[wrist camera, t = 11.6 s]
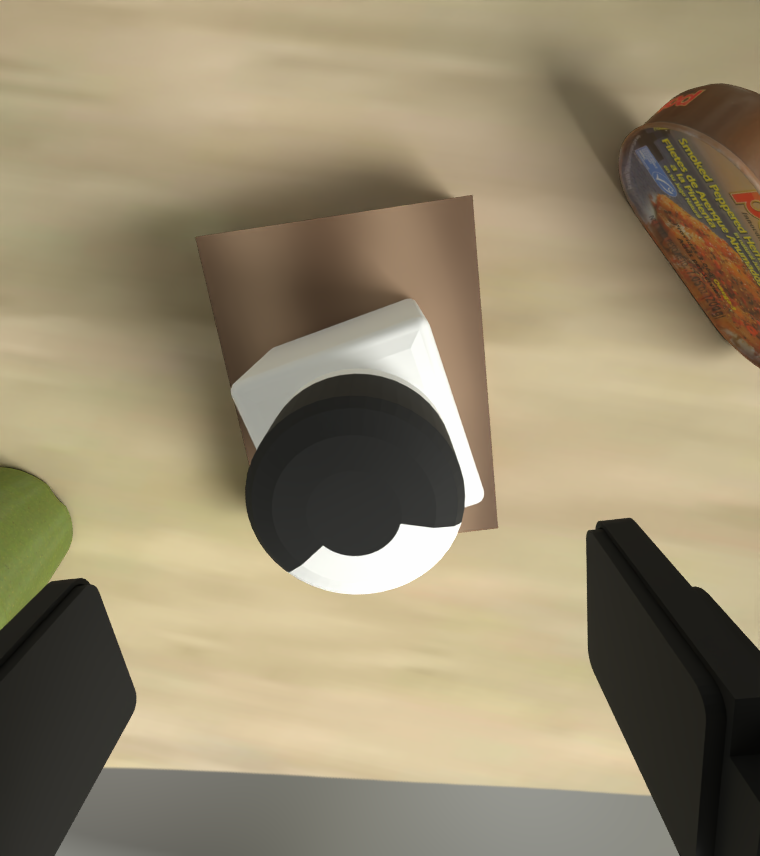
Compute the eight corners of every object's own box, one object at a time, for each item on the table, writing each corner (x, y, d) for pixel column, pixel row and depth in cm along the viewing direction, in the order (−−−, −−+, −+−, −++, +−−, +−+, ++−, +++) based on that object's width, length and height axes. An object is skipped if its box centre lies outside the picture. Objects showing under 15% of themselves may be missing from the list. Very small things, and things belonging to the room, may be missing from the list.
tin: (590, 152, 26) (685, 109, 18) (646, 102, 25) (771, 33, 17) (749, 379, 29) (888, 429, 21) (802, 340, 28) (966, 377, 20)
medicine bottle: (267, 348, 25) (168, 436, 13) (414, 295, 24) (443, 339, 12) (324, 481, 27) (282, 655, 15) (460, 436, 26) (522, 585, 15)
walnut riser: (459, 202, 26) (472, 195, 22) (483, 494, 31) (498, 528, 28) (221, 238, 27) (195, 236, 23) (283, 518, 32) (270, 555, 28)
